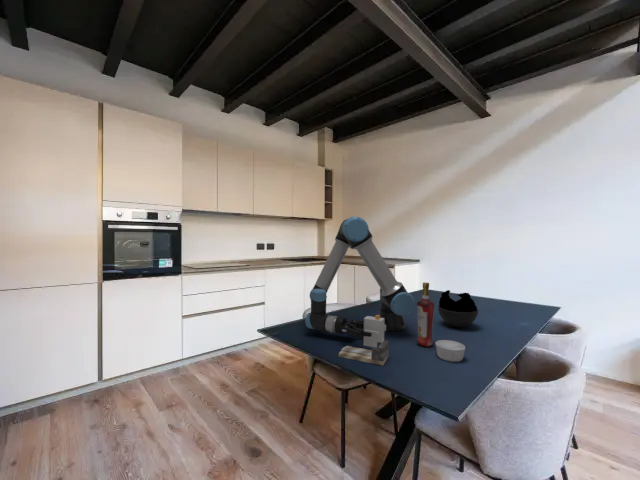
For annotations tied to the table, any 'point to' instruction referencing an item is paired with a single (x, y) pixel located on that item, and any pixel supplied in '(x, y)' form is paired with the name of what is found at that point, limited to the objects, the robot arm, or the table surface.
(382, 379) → the table surface
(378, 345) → the rail board
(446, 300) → the coal bowl
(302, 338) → the table surface
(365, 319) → the module
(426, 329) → the liquor
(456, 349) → the ramekin
